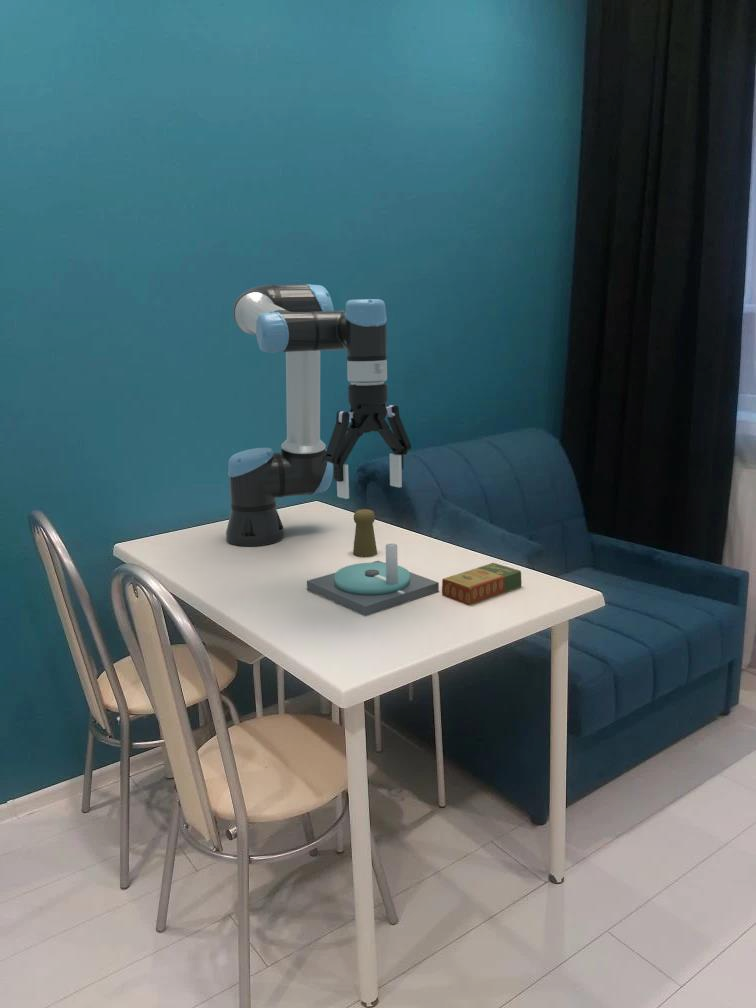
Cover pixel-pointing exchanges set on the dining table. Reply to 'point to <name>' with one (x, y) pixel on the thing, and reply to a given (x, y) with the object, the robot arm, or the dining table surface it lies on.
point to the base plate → (372, 602)
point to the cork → (364, 534)
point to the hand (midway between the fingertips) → (370, 491)
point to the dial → (374, 576)
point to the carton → (481, 583)
